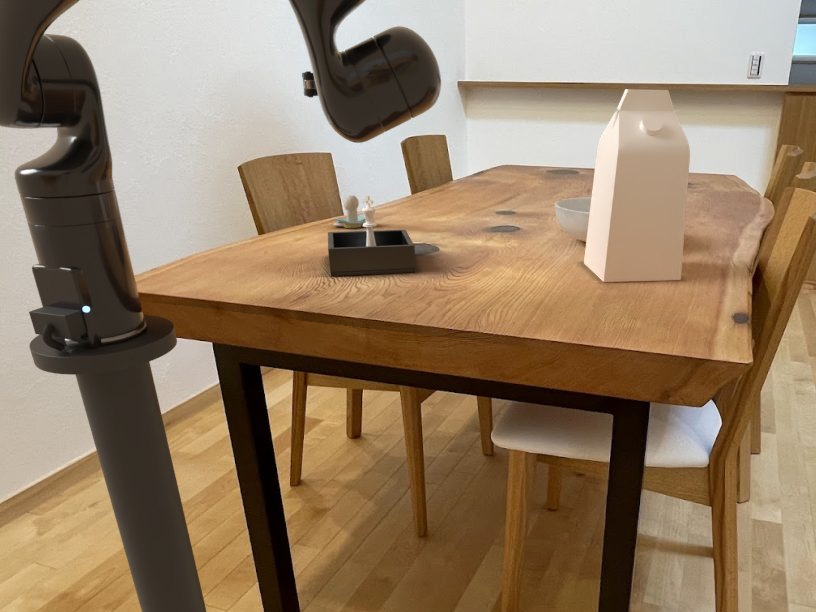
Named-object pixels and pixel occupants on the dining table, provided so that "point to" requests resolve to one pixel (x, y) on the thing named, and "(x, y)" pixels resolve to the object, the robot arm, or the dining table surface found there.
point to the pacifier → (351, 214)
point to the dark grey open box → (370, 253)
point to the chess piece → (369, 221)
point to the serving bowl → (574, 216)
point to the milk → (639, 192)
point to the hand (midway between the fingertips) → (361, 85)
